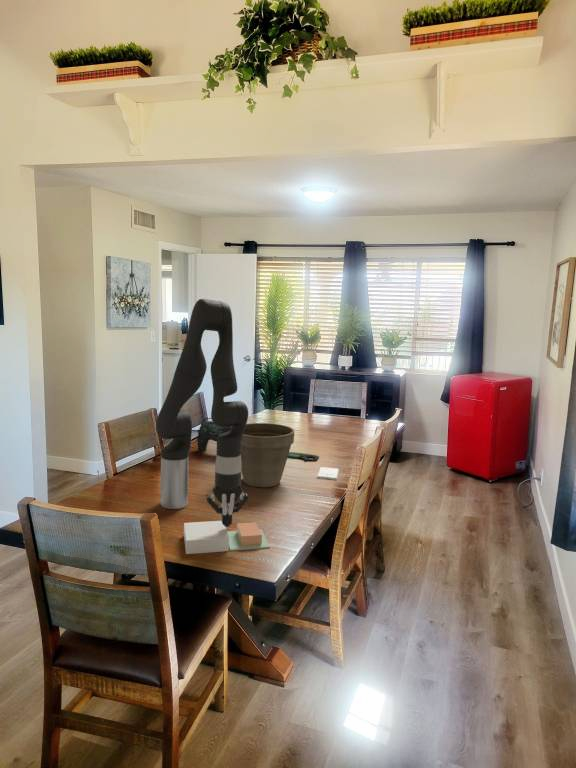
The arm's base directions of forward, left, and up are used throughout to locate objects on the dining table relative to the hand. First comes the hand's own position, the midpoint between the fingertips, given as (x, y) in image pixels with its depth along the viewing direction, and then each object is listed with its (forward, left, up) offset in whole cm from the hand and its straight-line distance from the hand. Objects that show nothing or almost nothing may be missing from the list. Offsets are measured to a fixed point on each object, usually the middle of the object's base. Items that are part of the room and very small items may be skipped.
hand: (226, 525), depth 151 cm
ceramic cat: (-92, +7, -5) cm, 93 cm away
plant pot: (-51, +21, -5) cm, 55 cm away
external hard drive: (-56, +51, -6) cm, 76 cm away
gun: (-81, +46, -6) cm, 93 cm away
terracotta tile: (0, +7, -3) cm, 8 cm away
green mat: (0, +6, -5) cm, 8 cm away
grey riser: (0, -6, -5) cm, 8 cm away
